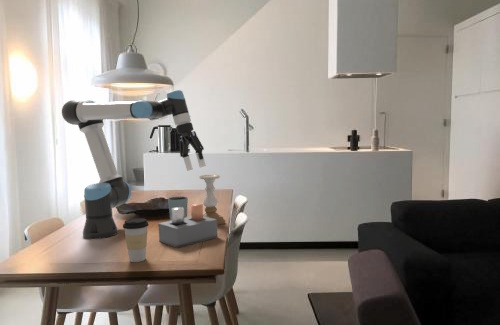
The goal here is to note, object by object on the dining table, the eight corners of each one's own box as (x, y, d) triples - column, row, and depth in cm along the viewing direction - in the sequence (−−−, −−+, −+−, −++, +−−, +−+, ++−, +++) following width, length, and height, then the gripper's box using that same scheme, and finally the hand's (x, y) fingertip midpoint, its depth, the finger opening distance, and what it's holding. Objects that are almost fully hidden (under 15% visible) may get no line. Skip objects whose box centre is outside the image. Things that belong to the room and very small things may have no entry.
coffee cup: (127, 265, 155) (125, 224, 153) (122, 258, 163) (120, 219, 161) (153, 260, 159) (151, 221, 157) (147, 254, 167) (145, 216, 166)
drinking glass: (165, 222, 218) (164, 199, 217) (173, 218, 228) (172, 196, 227) (184, 223, 216) (183, 200, 215) (191, 218, 226) (190, 196, 224)
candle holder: (225, 223, 213) (224, 176, 211) (206, 226, 208) (204, 178, 205) (216, 219, 222) (214, 174, 220) (196, 222, 217) (194, 175, 214)
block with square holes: (177, 247, 174) (176, 228, 173) (159, 241, 184) (158, 223, 184) (217, 237, 188) (217, 219, 188) (198, 231, 199) (198, 214, 198)
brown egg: (196, 222, 185) (195, 206, 185) (189, 220, 189) (188, 205, 188) (205, 220, 189) (205, 204, 188) (198, 218, 193) (198, 203, 192)
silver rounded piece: (176, 226, 179) (175, 210, 178) (169, 224, 182) (169, 208, 182) (186, 224, 182) (186, 208, 181) (180, 222, 186) (179, 206, 185)
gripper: (202, 116, 187) (215, 163, 188) (179, 127, 208) (191, 169, 209) (187, 119, 183) (201, 167, 184) (165, 130, 204) (178, 173, 205)
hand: (196, 168), depth 196 cm, fingers open, 13 cm apart
